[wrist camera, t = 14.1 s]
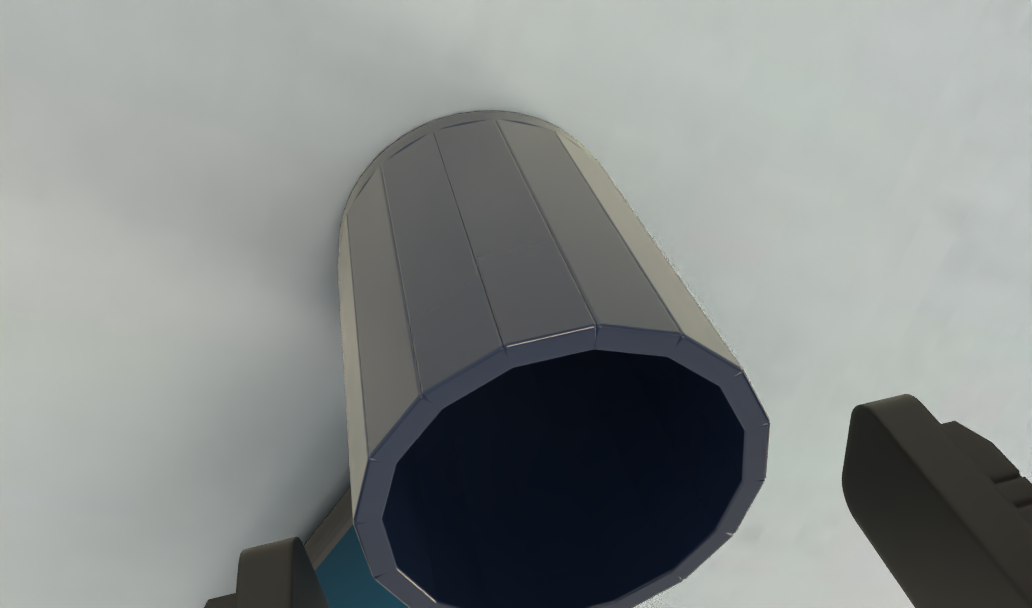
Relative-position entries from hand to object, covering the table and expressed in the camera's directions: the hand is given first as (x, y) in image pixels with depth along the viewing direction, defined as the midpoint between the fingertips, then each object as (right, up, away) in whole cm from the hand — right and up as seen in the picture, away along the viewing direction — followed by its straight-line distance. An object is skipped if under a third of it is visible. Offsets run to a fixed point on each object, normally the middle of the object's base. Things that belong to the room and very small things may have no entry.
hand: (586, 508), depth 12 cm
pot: (-2, +4, +6) cm, 8 cm away
